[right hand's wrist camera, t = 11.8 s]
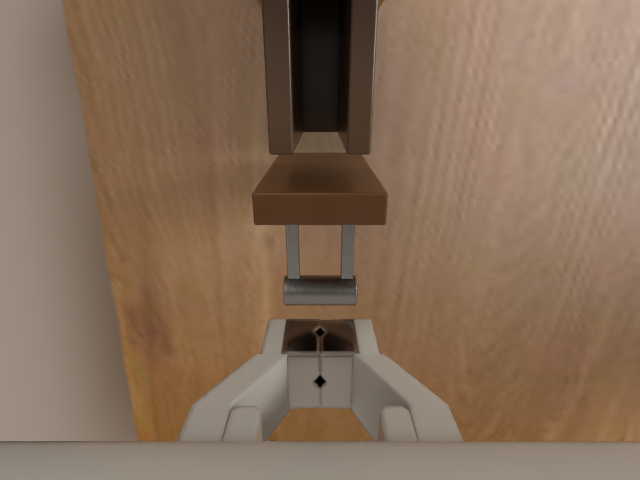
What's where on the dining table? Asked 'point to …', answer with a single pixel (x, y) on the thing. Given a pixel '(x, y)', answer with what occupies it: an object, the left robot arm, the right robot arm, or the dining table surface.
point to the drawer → (320, 116)
